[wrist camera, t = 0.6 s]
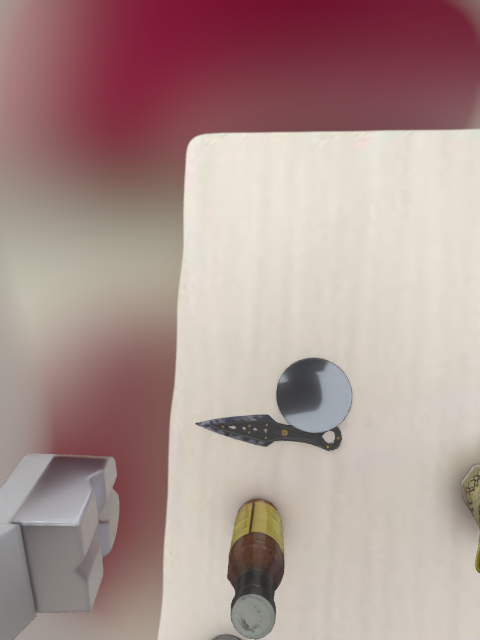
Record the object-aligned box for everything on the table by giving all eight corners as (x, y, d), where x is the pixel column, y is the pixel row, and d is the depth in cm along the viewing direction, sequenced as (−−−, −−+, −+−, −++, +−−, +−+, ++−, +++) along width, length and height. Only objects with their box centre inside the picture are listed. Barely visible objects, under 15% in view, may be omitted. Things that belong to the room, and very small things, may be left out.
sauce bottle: (240, 545, 57) (217, 658, 37) (233, 499, 57) (205, 587, 38) (288, 539, 56) (290, 651, 37) (280, 492, 57) (277, 579, 37)
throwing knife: (340, 453, 56) (340, 455, 56) (193, 438, 58) (192, 439, 58) (342, 421, 56) (342, 422, 56) (196, 407, 58) (195, 408, 58)
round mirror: (367, 402, 56) (367, 403, 55) (307, 447, 56) (307, 448, 56) (320, 343, 57) (320, 343, 56) (261, 387, 57) (261, 387, 57)
